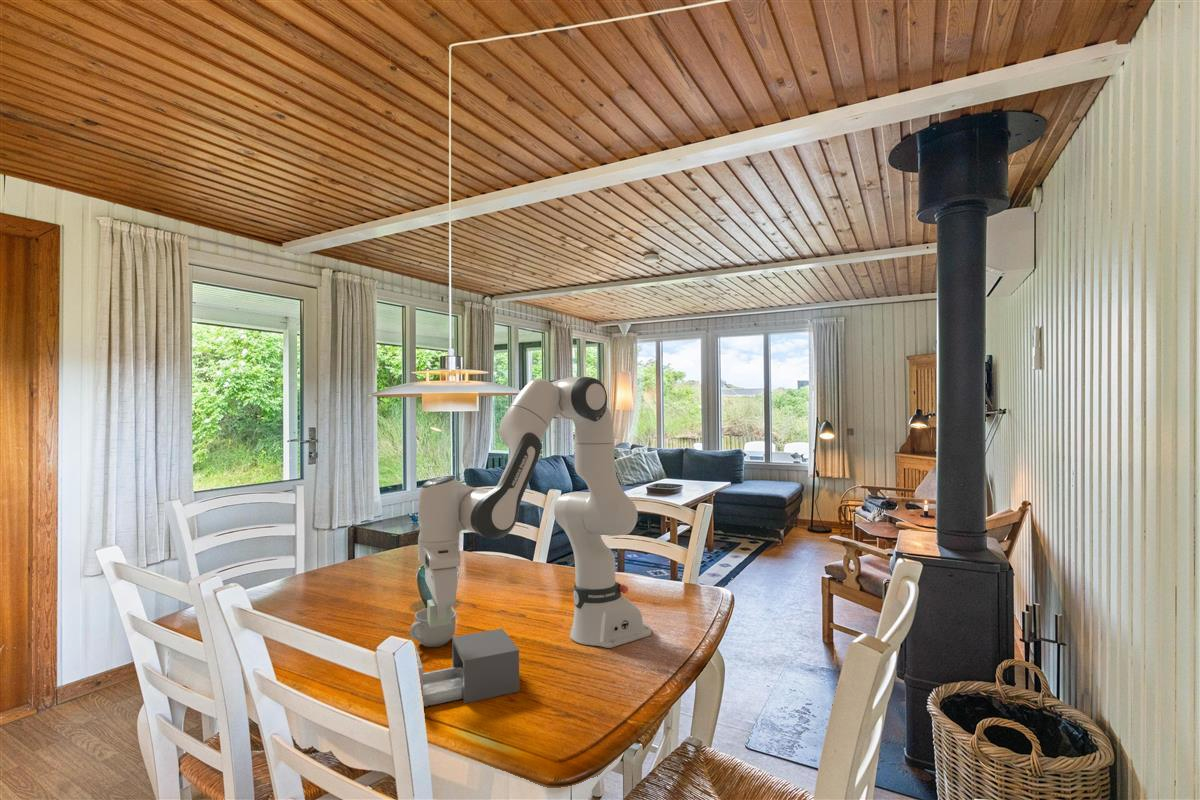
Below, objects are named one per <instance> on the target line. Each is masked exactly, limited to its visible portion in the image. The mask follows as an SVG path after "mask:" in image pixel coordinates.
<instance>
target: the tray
mask: <svg viewBox="0 0 1200 800" xmlns="http://www.w3.org/2000/svg"><path fill="white" fill-rule="evenodd" d="M414 646H415V648H416V654H417V661H418V668H419V675H420V683H421V690H422V696H423V701H424V706H425V707H429V706H428V705H430V706H434V705H439V704H443V703H446V702H453V701H456V700H461V699H462V700H463V665H462V666H457V667H452V666H451V667H448V668H442V669H437V670H432V671H425V672H424V666H423V664H422V661H421V657H420V654H419V651H418V649H417V645H414ZM425 707H424V708H425Z"/></svg>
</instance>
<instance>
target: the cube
mask: <svg viewBox="0 0 1200 800" xmlns="http://www.w3.org/2000/svg"><path fill="white" fill-rule="evenodd" d="M426 606H427V607H426V608H427V621H428V623H429V626H430V627H435V626H442V625H448V624H451V609H452V605H448V606H447V609H446V618H445V619H443V620H438V618H437V604H436V602H435V600H434V599H432V598H431V599H426Z"/></svg>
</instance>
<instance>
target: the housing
mask: <svg viewBox="0 0 1200 800" xmlns="http://www.w3.org/2000/svg"><path fill="white" fill-rule="evenodd" d="M451 640H452V643H451V644H452V646H451V647H452V659H451V660H452V666H451V668H452V667H457V666H462V665H463V698H462V701H463V704H468V703H469V704H470V703H472V702H477V701H481V700H486V699H490V698H495V697H500V696H504V695H508V694H513V693H518V692H520V650H519V647H518V646H517V645H516V643H514V641H513V640H512V639H511V637H510V636H509V635H508V634H507V632H506V631H505V630H504V628H497V629H491V630H486V631H479V632H475V633H468V634H462V635H456V636H453V637H452V638H451Z"/></svg>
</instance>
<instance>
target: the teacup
mask: <svg viewBox="0 0 1200 800" xmlns="http://www.w3.org/2000/svg"><path fill="white" fill-rule="evenodd" d="M414 614H415V615H414V617H415V618H414V622H413V623H412V624H411V625H410V628H409V636H410V637H411V638H412V639H413V640H416V641H417V642H418V643H420V644H421V645H423V646H424V647H427V648H436V647H437V648H438V647H442V646H444V645H446V644H447V643H449V641H451V640H452V637H454V635H455V632H456V622H457V620H456V619H457V611H456V610H454V609H453V608H451V624H448V625H442V626H435V627H430V626H429V623H428V621H427V607H426V608H423V609H420V610H418V611H417V612H415V613H414Z"/></svg>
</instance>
